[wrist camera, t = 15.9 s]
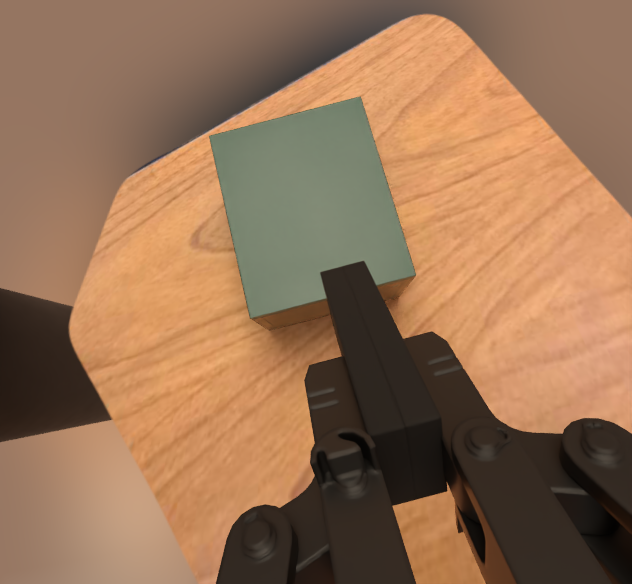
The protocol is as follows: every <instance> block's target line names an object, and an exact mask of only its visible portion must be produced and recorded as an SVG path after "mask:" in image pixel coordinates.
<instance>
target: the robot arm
mask: <svg viewBox="0 0 632 584" xmlns="http://www.w3.org/2000/svg"><path fill="white" fill-rule="evenodd" d="M320 275H321V279H322V283H323V286H324V290H325V294H326V298H327V302H328V306H329V310H330V314H331V318H332V322H333V326H334V330H335V334H336V338H337V341H338V344H339V348H340V351H341V355H342V357H338V358H334V359H331V360H327V361H323V362H319V363H316V364H312V365H309V368H308V371H307V374H306V377H305V380H304V381H305V387H306V393H307V398H308V405H309V410H310V417H311V423H312V429H313V434H314V440H315V444H314V446H313V448H312V450H311V459H310V464H311V466H312V469H313V472H314V474H315V477H314V479H313V481H312V483H311V484H310V485H309V486H308V488H307V489H306V490H305V491H304V492H303V493H301V494H300V495H299V496H298V497H296V498H295V499H293V500H292V501H290V502H288V503H287V504H285V505H284V506H282V507H281V508H278V507H276V506H270V505H261V506H257V507H253V508H251V509H250V510H248V511H246V512H245V513H243V514H242V515H241V516H240V517H239V518H238V519H237V521H236V522H235V523H234V524H233V525H232V528H231V530H230V533H229V535H228V537H227V540H226V544H225V549H224V553H223V557H222V561H221V565H220V569H219V573H218V577H217V581H216V584H416V582H415V579H414V575H413V572H412V569H411V565H410V562H409V559H408V556H407V552H406V549H405V546H404V543H403V539H402V536H401V533H400V530H399V526H398V523H397V520H396V517H395V513H394V510H393V507H392V506H393V505H397V504H401V503H405V502H408V501H412V500H416V499H420V498H423V497H427V496H431V495H435V494H438V493H442V492H446V491H447V483H448V485H449V488H450V490H451V492H452V494H453V497H454V499H455V513H456V524H457V529H458V533H461V532H463V531H464V533H465V536H466V538H467V540H468V543H469V545H470V547H471V550H472V552H473V554H474V557H475V559H476V561H477V564H478V566H479V568H480V571H481V573H482V576H483V578H484V580H485V583H486V584H632V434H631V433H630V432H628V431H627V430H625V429H623V428H622V427H620V426H618V425H616V424H615V423H612V422H609V421H605V420H602V419H596V418H583V419H580V420H577V421H573V422H571V423H570V424H569V425H568V426H567V427H566V428H565V429H564V432H563V434H553V433H531V432H523V431H520V430H517V429H513V428H511V427H509V426H507V425H506V424H504V423H503V422H501V421H500V420H498V419H497V418H496V417H495V416H494V415H493V414H492V412H491V411H490V410H489V408H488V407H487V405H486V403H485V402H484V400H483V398H482V397H481V395H480V394H479V392H478V390H477V389H476V387H475V386H474V384H473V382H472V381H471V379H470V378H469V376H468V374H467V373H466V371H465V370H464V369H463V367H462V365H461V363H460V362H459V360H458V358H456V356H455V354H454V352H453V350H452V349H451V347H450V346H449V344H448V342H447V341H446V340H444V339H443V338H441V337H440V336H438V335H437V334H435V333H434V332H428V333H424V334H420V335H417V336H413V337H409V338H405V339H403V338H402V336H401V334H400V332H399V330H398V328H397V326H396V324H395V322H394V320H393V318H392V316H391V314H390V312H389V310H388V308H387V306H386V304H385V302H384V300H383V298H382V296H381V294H380V292H379V290H378V288H377V285H376V283H375V281H374V279H373V277H372V275H371V273H370V271H369V269H368V267H367V265H366V263H365V261H360V262H356V263H353V264H349V265H345V266H341V267H338V268H334V269H330V270H326V271H323V272H320Z"/></svg>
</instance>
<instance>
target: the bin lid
mask: <svg viewBox="0 0 632 584" xmlns="http://www.w3.org/2000/svg"><path fill="white" fill-rule="evenodd" d="M209 138H210V142H211V147H212V151H213V156H214V160H215V165H216V169H217V174H218V178H219V182H220V187H221V191H222V196H223V200H224V205H225V209H226V214H227V218H228V222H229V227H230V231H231V236H232V240H233V245H234V249H235V254H236V258H237V262H238V267H239V271H240V276H241V280H242V285H243V289H244V294H245V298H246V302H247V307H248V311H249V316H250V319H252V320H253V319H257V318H261V317H265V316H269V315H273V314H276V313H280V312H284V311H288V310H292V309H296V308H299V307H303V306H307V305H311V304H315V303H319V302H322V301H326V300H327V298H326V294H325V290H324V286H323V283H322V279H321V275H320V272H323V271H326V270H330V269H334V268H338V267H341V266H345V265H349V264H353V263H356V262H360V261H365V263H366V265H367V267H368V269H369V271H370V273H371V275H372V277H373V279H374V281H375V283H376V285H377V287H380V286H384V285H388V284H392V283H396V282H399V281H403V280H407V279H411V278H414V277H415V276H416V273H415V270H414V266H413V263H412V260H411V257H410V253H409V250H408V247H407V244H406V241H405V237H404V234H403V231H402V228H401V225H400V221H399V218H398V215H397V212H396V208H395V205H394V202H393V199H392V196H391V192H390V189H389V186H388V183H387V180H386V176H385V173H384V170H383V167H382V163H381V160H380V157H379V154H378V151H377V147H376V144H375V141H374V138H373V135H372V131H371V128H370V125H369V122H368V118H367V115H366V112H365V109H364V106H363V102H362V99H361V97H356V98H353V99H349V100H345V101H341V102H337V103H333V104H330V105H326V106H322V107H318V108H314V109H310V110H307V111H303V112H299V113H295V114H291V115H287V116H284V117H280V118H276V119H272V120H268V121H264V122H261V123H257V124H253V125H249V126H245V127H241V128H238V129H234V130H230V131H226V132H222V133H218V134H215V135H211V136H209Z"/></svg>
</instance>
